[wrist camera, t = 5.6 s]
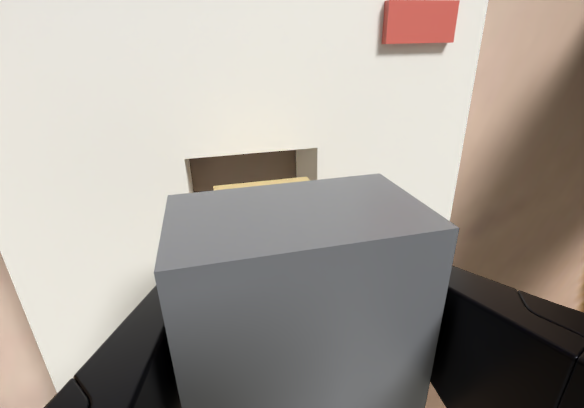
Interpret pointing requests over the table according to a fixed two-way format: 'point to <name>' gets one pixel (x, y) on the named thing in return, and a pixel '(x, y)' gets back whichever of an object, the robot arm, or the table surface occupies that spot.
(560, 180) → the table surface
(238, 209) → the plug
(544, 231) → the table surface
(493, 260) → the table surface
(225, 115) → the socket plate
